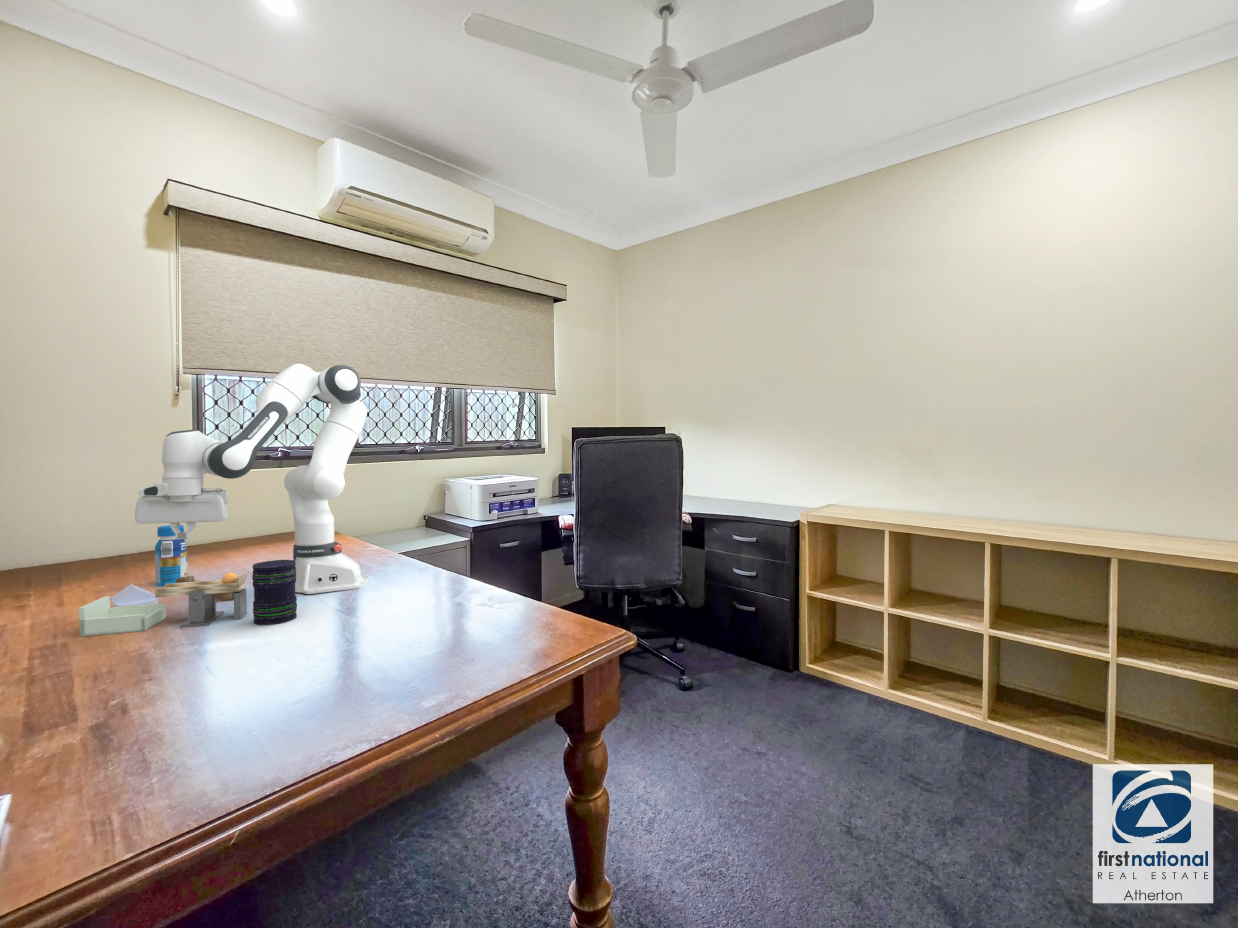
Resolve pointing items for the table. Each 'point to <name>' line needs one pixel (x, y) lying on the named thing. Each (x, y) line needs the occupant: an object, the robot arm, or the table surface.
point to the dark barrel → (274, 592)
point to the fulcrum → (211, 608)
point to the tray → (118, 617)
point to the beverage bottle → (170, 556)
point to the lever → (203, 588)
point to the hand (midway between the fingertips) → (183, 539)
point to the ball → (229, 578)
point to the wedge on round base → (133, 597)
